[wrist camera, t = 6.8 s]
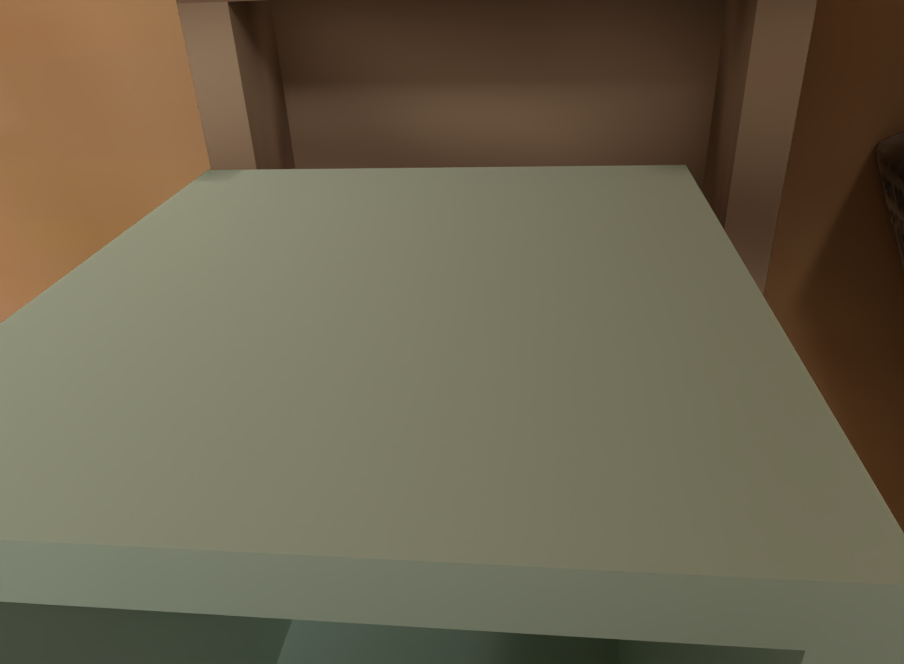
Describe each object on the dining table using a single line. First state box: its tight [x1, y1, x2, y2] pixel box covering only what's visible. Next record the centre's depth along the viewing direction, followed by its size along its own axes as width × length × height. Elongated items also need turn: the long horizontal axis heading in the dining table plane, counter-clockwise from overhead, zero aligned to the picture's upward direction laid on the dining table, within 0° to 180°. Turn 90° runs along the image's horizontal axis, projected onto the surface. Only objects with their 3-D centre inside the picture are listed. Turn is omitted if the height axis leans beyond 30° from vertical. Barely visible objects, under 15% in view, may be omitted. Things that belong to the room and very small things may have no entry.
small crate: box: [0, 165, 904, 664], centre depth 9 cm, size 8×6×7 cm
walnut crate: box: [176, 0, 817, 295], centre depth 20 cm, size 13×14×4 cm
